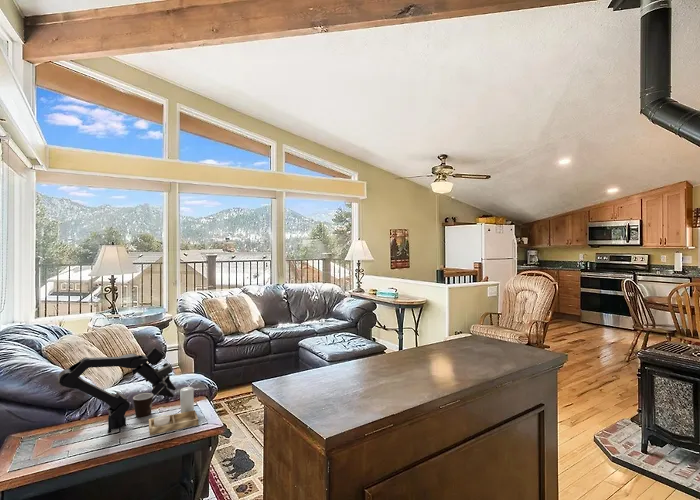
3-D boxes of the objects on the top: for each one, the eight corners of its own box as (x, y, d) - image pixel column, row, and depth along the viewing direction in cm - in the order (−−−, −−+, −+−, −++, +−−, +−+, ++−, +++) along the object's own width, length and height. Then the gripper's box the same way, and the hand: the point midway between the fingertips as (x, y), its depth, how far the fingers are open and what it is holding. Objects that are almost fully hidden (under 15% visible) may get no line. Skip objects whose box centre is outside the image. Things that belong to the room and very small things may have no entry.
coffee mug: (144, 421, 185) (144, 400, 185) (129, 419, 187) (128, 399, 186) (161, 411, 196) (161, 391, 196) (146, 409, 198) (146, 390, 198)
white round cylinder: (154, 431, 173) (154, 422, 172) (153, 425, 178) (153, 417, 178) (170, 428, 176) (170, 419, 176) (169, 422, 181) (169, 414, 181)
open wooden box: (149, 437, 170) (149, 429, 170) (148, 427, 179) (148, 419, 179) (198, 427, 179) (198, 419, 179) (195, 417, 189) (194, 410, 189)
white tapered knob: (181, 419, 187) (180, 392, 187) (180, 414, 193) (179, 388, 192) (194, 416, 190) (194, 390, 190) (192, 411, 195) (192, 386, 195)
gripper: (159, 365, 179) (185, 386, 182) (164, 354, 196) (188, 373, 200) (140, 384, 176) (167, 405, 180) (147, 372, 194) (171, 391, 198)
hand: (174, 392), depth 189 cm, fingers open, 9 cm apart
